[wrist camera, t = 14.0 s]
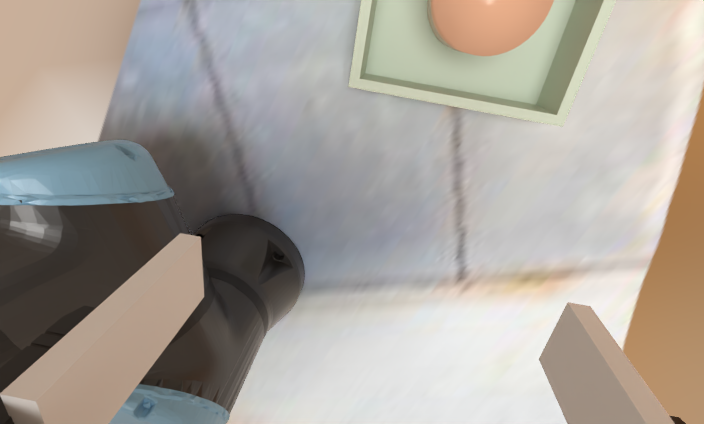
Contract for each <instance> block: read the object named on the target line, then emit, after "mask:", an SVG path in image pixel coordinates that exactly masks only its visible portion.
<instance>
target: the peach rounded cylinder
mask: <svg viewBox="0 0 704 424" xmlns="http://www.w3.org/2000/svg"><path fill="white" fill-rule="evenodd" d="M553 2H554V0H427V16H428V21H429V24H430V27H431V29H432V31H433V33H434V35H435V36H436V37H437V39H438V40H439V41H440V42H441V43H442V44H444V45H445V46H447V47H448V48H450V49H453V50H455V51H459V52H463V53H468V54H472V55H476V56H493V55H499V54H502V53H505V52H508V51H510V50H512V49H514V48H516V47H518V46H519V45H521V44H522V43H524V42H525V41H526V40H528V39H529V38H530V37H531V36H532V35H533V34H534V33H535V32H536V31H537V30H538V28H539V27H540V26H541V24H542V23H543V22H544V20H545V19H546V17H547V15H548V13H549V11H550V9H551V7H552V4H553Z"/></svg>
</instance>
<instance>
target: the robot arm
mask: <svg viewBox="0 0 704 424" xmlns="http://www.w3.org/2000/svg"><path fill="white" fill-rule="evenodd" d="M173 196H174V191H173V190H172V189H171V188H170V187H168V185H167V184H166V182H165V180H164V178H163V176H162V174H161V173H160V171H159V169H158V167H157V165H156V163H155V161H154V160H153V158H152V156H151V155H150V153H149V152H148V151H147V150H146V149H145V148H144V147H143V146H141V145H139V144H137V143H135V142H132V141H128V140H108V141H100V142H92V143H85V144H78V145H72V146H65V147H59V148H52V149H46V150H40V151H34V152H28V153H22V154H17V155H10V156H4V157H0V424H226V423H227V422H228V420H229V417H230V416H229V415H230V412H231V410H232V408H233V405H234V403H235V401H236V399H237V396H238V394H239V392H240V390H241V388H242V385H243V383H244V381H245V379H246V376H247V374H248V372H249V370H250V368H251V365H252V363H253V361H254V359H255V356H256V354H257V352H258V350H259V348H260V345H261V343H262V341H263V339H264V337H265V335H266V333H267V331H269V330H270V329H271V328H272V327H273V326H274V325H275V324H276V323H277V322H278V321H279V320H280V319H282V318H283V317H284V316H285V315H286V314H287V313H288V312H289V311H290V310H291V309H292V307H293V306H294V305H295V303H296V301H297V299H298V297H299V294H300V292H301V290H302V287H303V283H304V266H303V262H302V259H301V256H300V254H299V252H298V250H297V249H296V247H295V246H294V244H293V243H292V242H291V240H290V239H289V238H288V237H287V236H286V235H285V234H284V233H283V232H281V231H280V230H279V229H277V228H276V227H275V226H273V225H271V224H269V223H268V222H265V221H263V220H261V219H258V218H255V217H251V216H247V215H237V214H234V215H224V216H220V217H217V218H214V219H212V220H210V221H208V222H207V223H205V224H204V225H203V226H202V227H201V228H200V229H199V230H197V231H196V232H195V233H194V234H193V235H190V233H189V231H188V229H187V226H186V224H185V222H184V220H183V218H182V216H181V214H180V211H179V209H178V207H177V205H176V203H175V201H174V198H173ZM539 360H540V362H541V365H542V367H543V369H544V372H545V374H546V376H547V378H548V381H549V383H550V385H551V387H552V390H553V392H554V394H555V396H556V399H557V401H558V403H559V405H560V408H561V410H562V412H563V414H564V417H565V419H566V421H567V423H568V424H686V423H685V422H683V421H682V420H681V419H680V418H679V417H674V416H669V415H668V413H667V412H666V411H665V409H664V408H663V407H662V405H661V404H660V402H659V401H658V400H657V398H656V397H655V395H654V394H653V393H652V392H651V390H650V389H649V387H648V386H647V385H646V383H645V382H644V380H643V379H642V377H641V376H640V375H639V373H638V372H637V371H636V369H635V368H634V366H633V365H632V364H631V362H630V361H629V359H628V358H627V357H626V356H625V354H624V353H623V351H622V350H621V348H620V347H619V346H618V344H617V343H616V341H615V340H614V339H613V337H612V336H611V335H610V333H609V332H608V330H607V329H606V328H605V326H604V325H603V323H602V322H601V321H600V319H599V318H598V317H597V315H596V314H595V312H594V311H593V310H592V308H591V307H590V306H585V305H579V304H574V303H567V305H566V307H565V309H564V311H563V313H562V315H561V317H560V319H559V321H558V323H557V325H556V327H555V329H554V331H553V333H552V334H551V336H550V338H549V340H548V342H547V344H546V346H545V348H544V350H543V352H542V354H541V356H540V358H539Z"/></svg>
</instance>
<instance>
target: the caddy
mask: <svg viewBox="0 0 704 424" xmlns="http://www.w3.org/2000/svg"><path fill="white" fill-rule="evenodd" d="M615 2H616V0H554V2H553V4H552V7H551V9H550V11H549V13H548V15H547V17H546V19H545V20H544V22H543V23H542V24H541V26H540V27H539V28H538V30H537V31H536V32H535V33H534V34H533V35H532V36H531V37H530V38H529V39H528V40H526V41H525V42H524V43H522V44H521V45H519V46H518V47H516V48H514V49H512V50H510V51H508V52H505V53H502V54H499V55H493V56H476V55H472V54H468V53H463V52H459V51H455V50H453V49H450V48H448V47H447V46H445V45H444V44H442V43H441V42H440V41H439V40H438V39H437V37H436V36H435V35H434V33H433V31H432V29H431V27H430V24H429V21H428V16H427V0H361V5H360V12H359V18H358V25H357V32H356V39H355V45H354V52H353V59H352V66H351V72H350V79H349V86H348V87H351V88H357V89H362V90H367V91H373V92H378V93H383V94H389V95H394V96H400V97H405V98H410V99H416V100H421V101H426V102H432V103H437V104H443V105H448V106H453V107H459V108H464V109H469V110H475V111H480V112H485V113H491V114H496V115H502V116H507V117H512V118H518V119H523V120H528V121H534V122H539V123H545V124H550V125H555V126H561V127H563V125H564V123H565V120H566V118H567V116H568V113H569V111H570V109H571V106H572V104H573V101H574V99H575V97H576V94H577V92H578V90H579V87H580V85H581V83H582V80H583V78H584V75H585V73H586V71H587V68H588V66H589V64H590V61H591V59H592V57H593V54H594V52H595V49H596V47H597V45H598V42H599V40H600V38H601V35H602V33H603V31H604V28H605V26H606V23H607V21H608V19H609V16H610V14H611V12H612V9H613V7H614V5H615Z"/></svg>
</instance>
